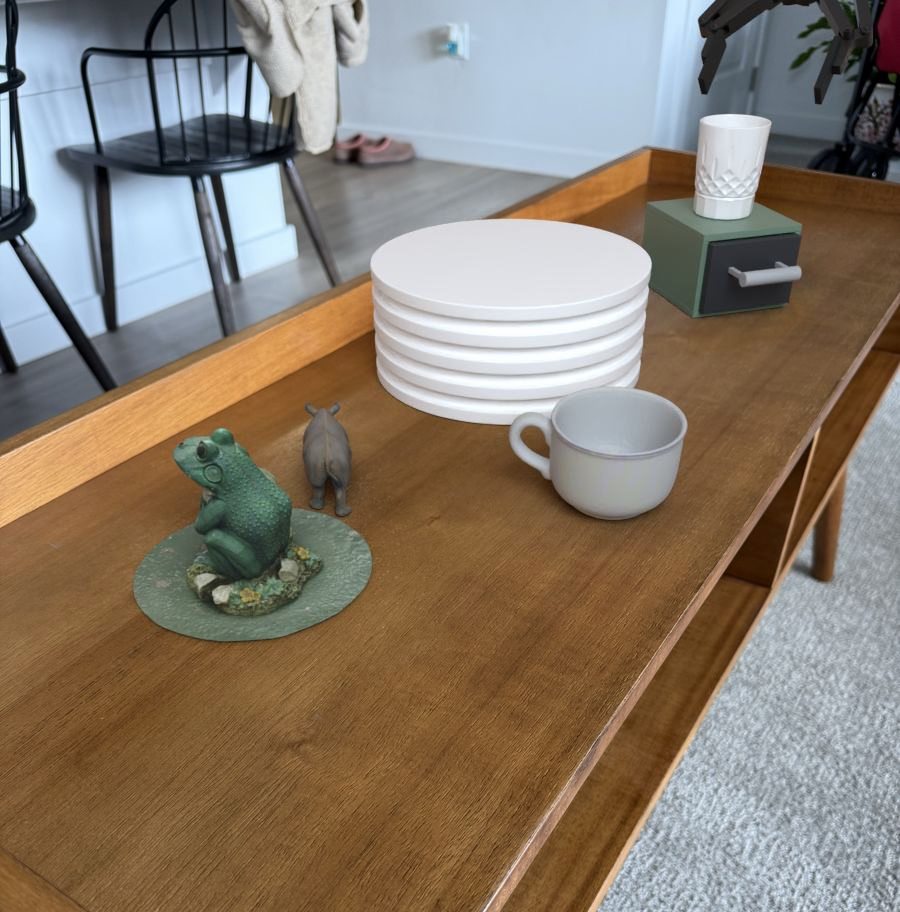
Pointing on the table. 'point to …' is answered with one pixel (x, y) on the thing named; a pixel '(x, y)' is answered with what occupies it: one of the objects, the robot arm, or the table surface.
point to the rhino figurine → (327, 457)
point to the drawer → (749, 272)
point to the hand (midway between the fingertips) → (758, 91)
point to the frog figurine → (247, 555)
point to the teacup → (608, 449)
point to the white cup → (729, 164)
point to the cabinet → (697, 247)
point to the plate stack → (507, 316)
